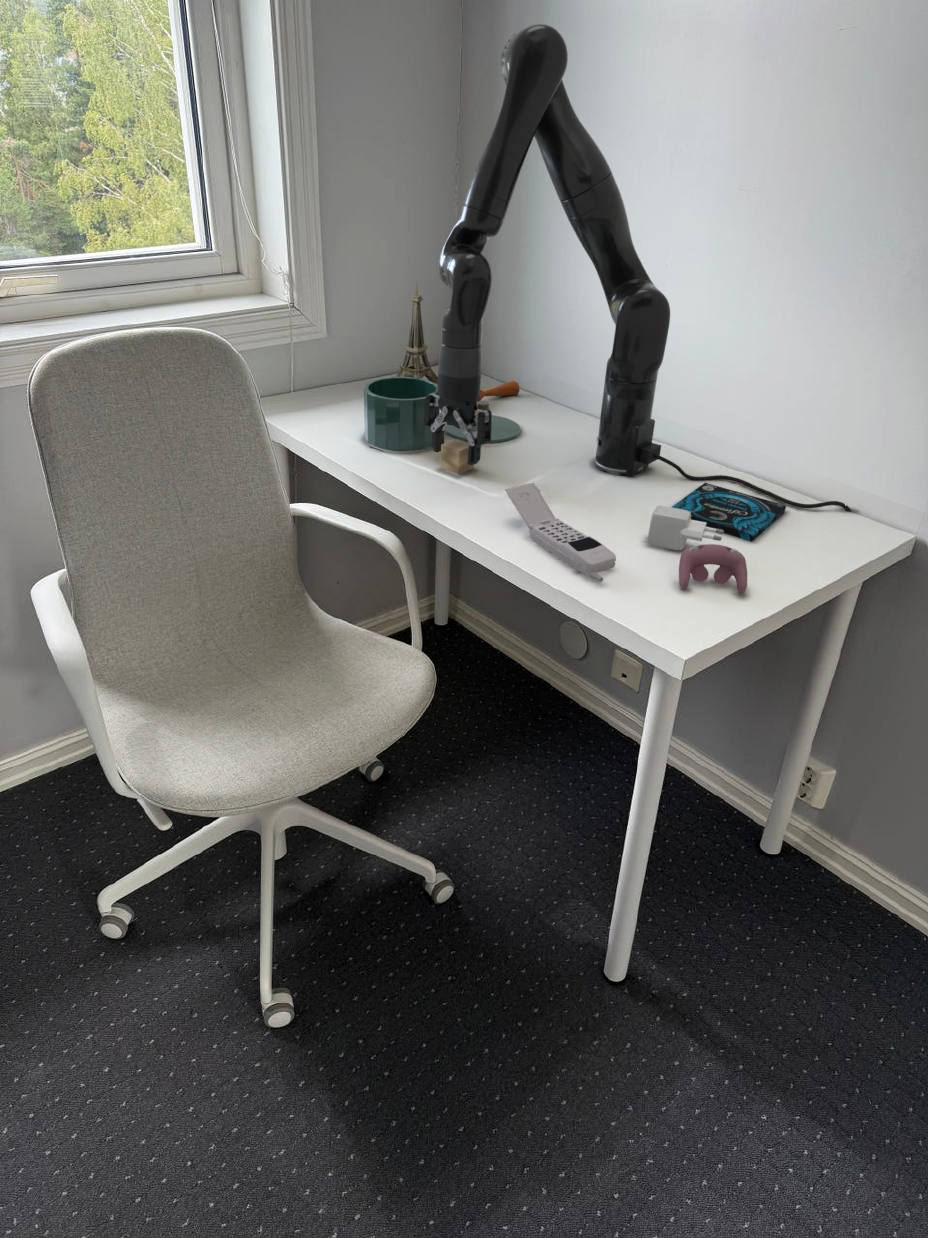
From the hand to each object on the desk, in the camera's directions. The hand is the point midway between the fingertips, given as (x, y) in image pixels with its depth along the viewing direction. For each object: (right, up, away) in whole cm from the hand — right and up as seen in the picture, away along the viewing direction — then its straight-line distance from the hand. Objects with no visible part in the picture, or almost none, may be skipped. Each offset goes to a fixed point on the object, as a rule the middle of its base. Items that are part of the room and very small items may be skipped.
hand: (455, 457), depth 167 cm
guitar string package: (+47, -12, -11) cm, 49 cm away
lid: (+5, +9, +19) cm, 21 cm away
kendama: (+6, +18, +34) cm, 39 cm away
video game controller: (+38, -25, -33) cm, 56 cm away
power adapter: (+36, -19, -22) cm, 47 cm away
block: (0, -2, +1) cm, 3 cm away
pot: (-11, +6, +14) cm, 18 cm away
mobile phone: (+17, -19, -24) cm, 35 cm away
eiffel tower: (-9, +22, +41) cm, 48 cm away
